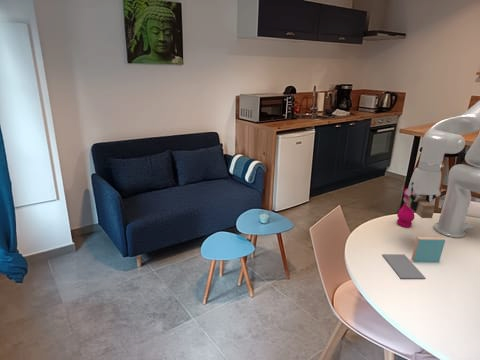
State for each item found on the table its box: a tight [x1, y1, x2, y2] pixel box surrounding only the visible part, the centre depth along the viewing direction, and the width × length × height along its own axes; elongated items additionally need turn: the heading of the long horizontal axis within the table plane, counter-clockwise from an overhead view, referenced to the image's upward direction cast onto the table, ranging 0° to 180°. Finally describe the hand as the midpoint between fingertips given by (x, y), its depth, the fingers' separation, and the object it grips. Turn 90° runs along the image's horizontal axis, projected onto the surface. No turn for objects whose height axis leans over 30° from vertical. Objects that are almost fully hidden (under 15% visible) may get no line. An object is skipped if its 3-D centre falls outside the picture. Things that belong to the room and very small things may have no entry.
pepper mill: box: [396, 187, 415, 228], centre depth 153 cm, size 7×7×20 cm
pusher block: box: [406, 195, 436, 219], centre depth 132 cm, size 12×4×5 cm, turn 2°
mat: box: [381, 253, 426, 280], centre depth 124 cm, size 9×15×1 cm, turn 2°
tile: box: [410, 236, 446, 263], centre depth 126 cm, size 2×10×10 cm, turn 92°
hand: (419, 209), depth 133 cm, fingers closed on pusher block, 4 cm apart
